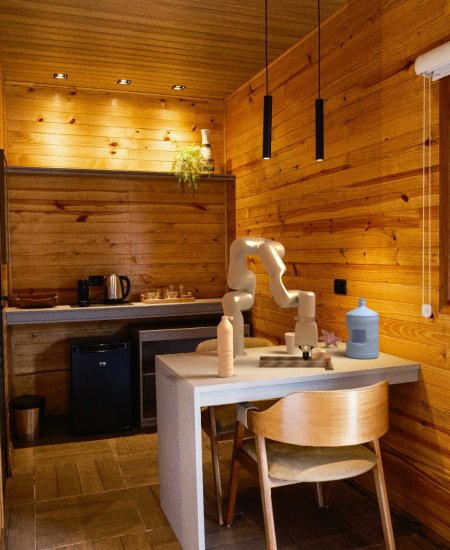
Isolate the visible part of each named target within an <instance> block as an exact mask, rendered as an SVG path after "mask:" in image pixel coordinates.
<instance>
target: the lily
mask: <svg viewBox="0 0 450 550" xmlns="http://www.w3.org/2000/svg"><path fill="white" fill-rule="evenodd" d="M320 330H321V333H322V335H323V336H320V337H318V340H322V341H324V342H325V347H326V348H328V347H330V346H334V347H335V348H337V349H338V348H339V346H338V344H337V342H342V341H343V339H342V338H340V337H339V336H335V333H334V332H333V331H331V332H328V331H326V330H324V329H320Z"/></svg>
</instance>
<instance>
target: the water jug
mask: <svg viewBox="0 0 450 550" xmlns="http://www.w3.org/2000/svg"><path fill="white" fill-rule="evenodd" d="M379 315H380V314H379V313H378V312H376V311H374V310H372V309H370V308H368V307H367V306H366V298H365V297H363V298H362V297H361V298H358V306H357V307H355V308H354V309H352V310H350V311H347V312H346V313H345V328H346V329H348V332H347V333H348V340H346V341H345V355H346V357H347V358H350V359H354V360H355V359H356V360H371V359H376V358H378V357H379V356H380V351H379V347H380V346H379V344H380V343H379V342H380V341H379V340H380V335H379V331H380V330H379V328H380V327H379V326H380V325H379V322H380V317H379Z"/></svg>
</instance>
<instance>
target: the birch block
mask: <svg viewBox="0 0 450 550" xmlns="http://www.w3.org/2000/svg"><path fill="white" fill-rule="evenodd" d="M326 353H327V352H326V350H325V349H312V350H311V351H310V356H311V361H326Z"/></svg>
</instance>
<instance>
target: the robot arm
mask: <svg viewBox="0 0 450 550" xmlns="http://www.w3.org/2000/svg"><path fill="white" fill-rule="evenodd" d="M285 253H286V249H285V246H284V245H283V244H282V243H281V242H278V241H276V240H272V239H268V238H264V237H261V236H260V237H259V236H257V237H255V236H253V237H252V236H241V237H238V238H236V239H234V241H232V242H231V244H230V247H229V264H228V271H227V272H228V273H227V286H228V288H230V289H232V290H235V291H229V292H227V293H225V294H224V295H223V297H222V299H221V306H222V309H223V316H228V317H233V320H228V321H229V322H230V324H231V325H232V327H233V359H234V358H236V357H246V356H248V352H247V351H245V334H244V333H245V332H244V330H245V329H244V326H245V323H244V317H243V316H244V315H243V314H242V311H245V310H250V309H251V308H252V306H253V305H254V302H255V296H256V287H257V276H256V274H255V272H254V271H252V270H250V269H247V262H248V261H247V258H246V256H248V255H249V256H253V255H255V256H256V255H258V257H259V259H260V260H261V261H260V262H261V263H262V264H263V267H264V268H265V269H266V272H267V274H268V276H269V282H268V283H269V291H270V293H271V295H272V297H273V299H274V301H275V302H276V304H277V305H278V306H279V307H281V308H283V309H284V308H285V309H287V308H295V307H297V316H294V321H296V323H295V325H294V326H295V327H294V333H295V337H294V341H295V343H294V347H296V348H299V351H301V352H302V355H301V356H302V359H304V361H308V359H309V356H310V353H311V350H314V349H318V348H319V345H318V344H319V343H318V341H319V334H318V333H319V332H318V324H317V322H316V294H315V292H313V291H303V290H299V289H291V290H286V287H285V286H284V285H283V281H282V276H283V274H285V272H287V267H286V265H285V263H284V261H283V260H282V259H283V258H284V257H285ZM236 290H237V291H236ZM238 290H239V291H238ZM305 346H306V347H307V348H305ZM215 351H216V352H218V346H217V347H215Z"/></svg>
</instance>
